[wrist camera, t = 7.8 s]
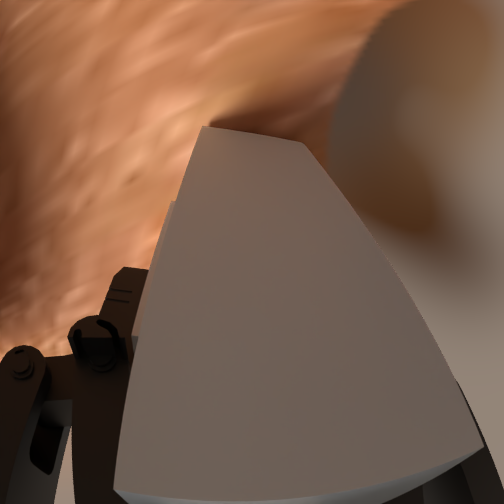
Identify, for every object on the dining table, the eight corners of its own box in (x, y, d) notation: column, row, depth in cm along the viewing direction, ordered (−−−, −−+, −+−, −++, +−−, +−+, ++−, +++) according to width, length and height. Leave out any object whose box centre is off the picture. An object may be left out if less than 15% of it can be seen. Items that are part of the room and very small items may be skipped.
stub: (185, 270, 15) (162, 531, 6) (202, 125, 11) (113, 488, 2) (266, 279, 16) (303, 530, 6) (302, 142, 12) (484, 446, 2)
